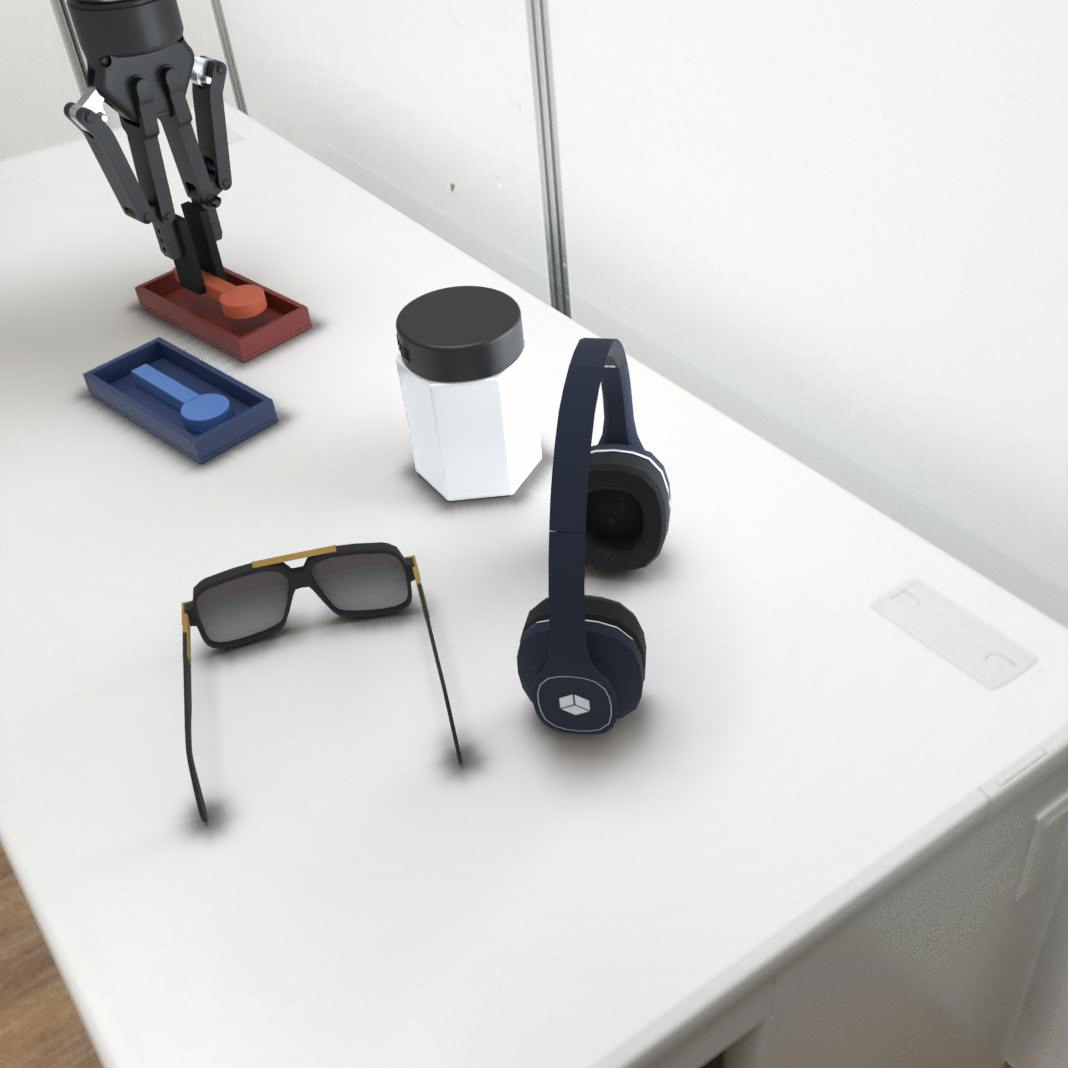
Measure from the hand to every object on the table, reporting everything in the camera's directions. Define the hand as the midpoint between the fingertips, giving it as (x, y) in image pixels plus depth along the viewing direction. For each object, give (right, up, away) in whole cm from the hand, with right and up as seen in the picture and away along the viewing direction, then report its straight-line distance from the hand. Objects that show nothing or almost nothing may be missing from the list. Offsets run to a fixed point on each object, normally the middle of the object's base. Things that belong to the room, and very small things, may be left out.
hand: (204, 283), depth 105 cm
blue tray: (+1, -12, -10) cm, 15 cm away
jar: (+25, -17, -17) cm, 35 cm away
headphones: (+34, -29, -30) cm, 53 cm away
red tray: (+2, -3, +1) cm, 3 cm away
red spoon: (+2, -1, -1) cm, 2 cm away
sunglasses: (+17, -32, -33) cm, 49 cm away
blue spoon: (+2, -12, -10) cm, 15 cm away
